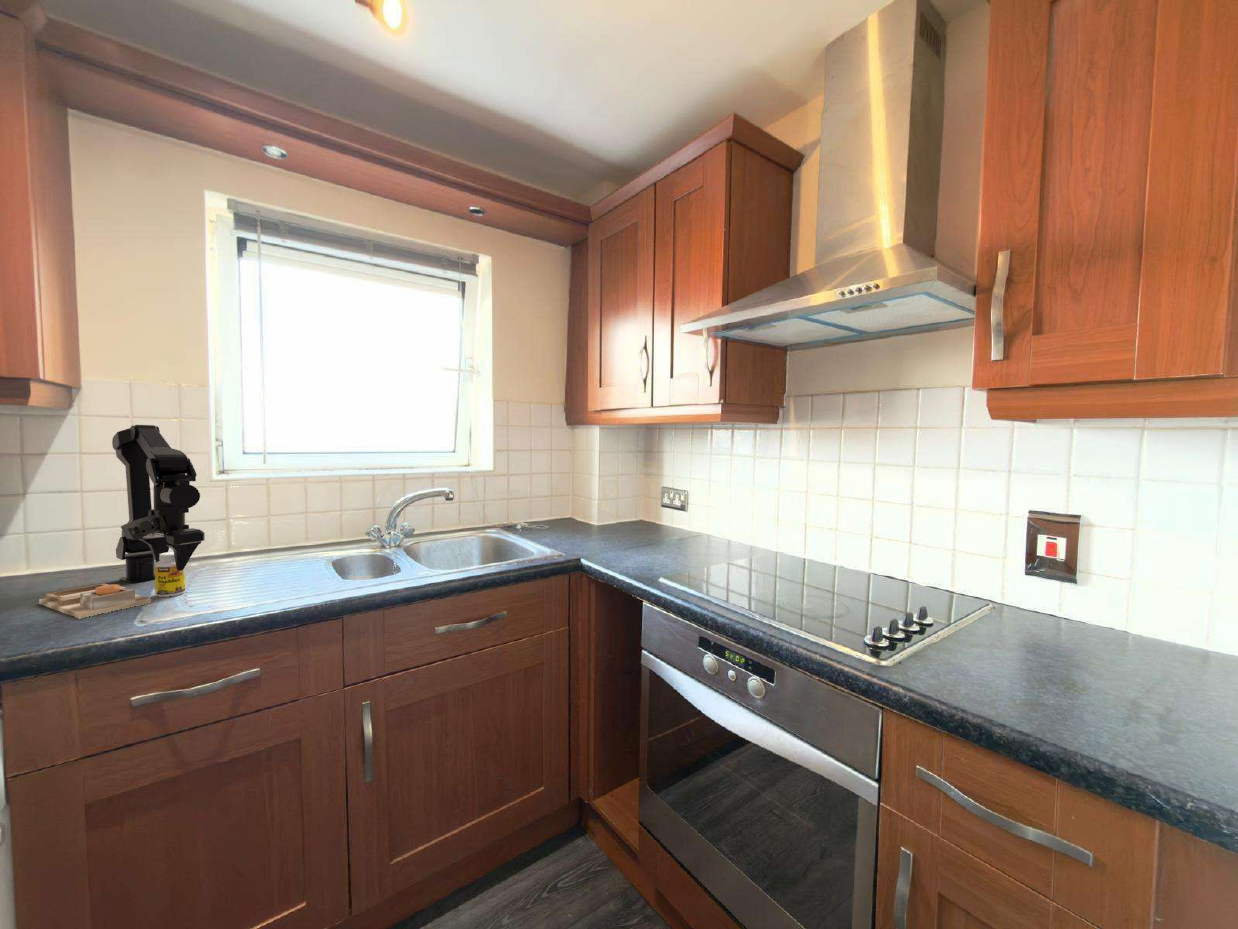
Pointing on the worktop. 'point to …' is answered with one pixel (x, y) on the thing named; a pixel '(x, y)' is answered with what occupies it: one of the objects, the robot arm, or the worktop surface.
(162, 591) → the supplement bottle
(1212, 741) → the worktop surface
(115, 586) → the button
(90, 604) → the pallet
